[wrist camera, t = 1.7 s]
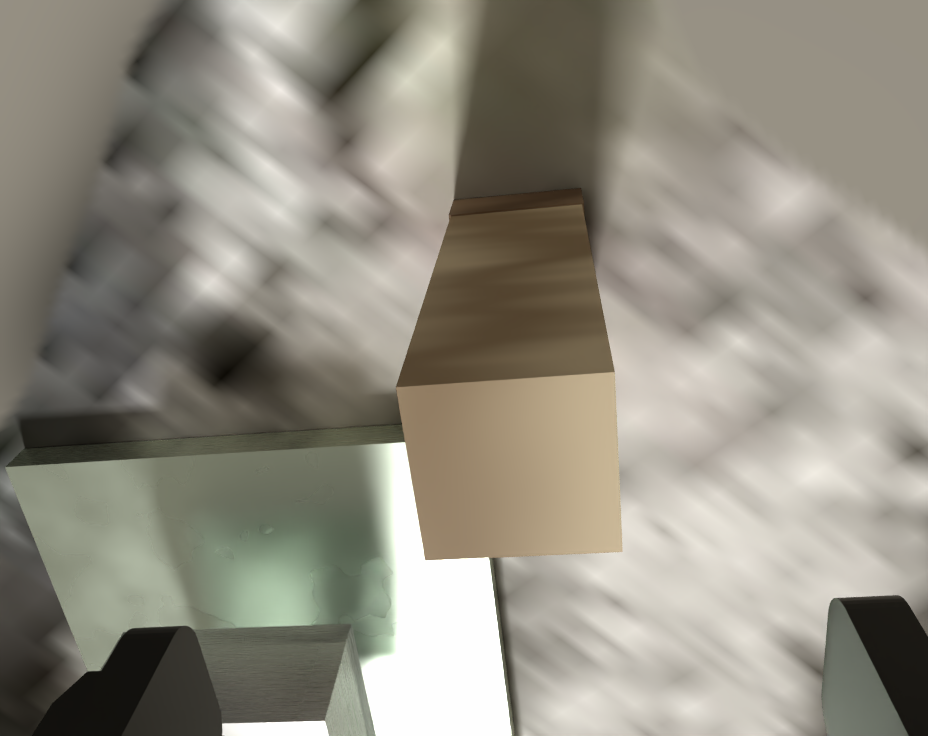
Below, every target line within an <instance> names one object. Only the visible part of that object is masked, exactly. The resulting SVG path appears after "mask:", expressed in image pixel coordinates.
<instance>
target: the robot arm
mask: <svg viewBox="0 0 928 736" xmlns="http://www.w3.org/2000/svg"><path fill="white" fill-rule="evenodd" d="M822 708H823V716H824V722H825V726H826V731H827V735H828V736H928V636H927V635H926V633H925V631H924V630H923V628H922V626H921V625H920V623H919V621H918V620H917V618H916V616H915V615H914V613H913V611H912V610H911V608H910V606H909V605H908V603H907V602H906V601H905V600H904V599H903V598H902V597H901V596H898V595H893V596H871V597H849V598H834V599H833V600H832V601H831V603H830V606H829V611H828V622H827V634H826V646H825V658H824V670H823V682H822ZM32 736H222V716H221V710H220V707H219V703H218V700H217V697H216V694H215V691H214V688H213V685H212V682H211V679H210V675H209V672H208V669H207V666H206V663H205V660H204V657H203V654H202V651H201V647H200V644H199V641H198V638H197V636H196V633H195V632H194V630H193V629H192V628H191V627H189V626H166V627H144V628H132V629H129V630H128V631H127V632H126V633H125V634H124V635H123V636H122V637H121V639H120V640H119V642H118V644H117V645H116V647H115V649H114V650H113V652H112V654H111V655H110V657H109V659H108V660H107V662H106V664H105V665H104V667H103V669H102V670H101V671H88V672H86V673H85V674H84V675H83V676H82V677H81V678H80V679H79V680H78V681H77V682H75V683H74V684H73V685H72V686H71V687H70V688H69V689H68V690H67V691H66V692H64V693H63V694H62V695H61V696H60V697H59V698H58V699H57V700H56V701H55V702H53V703H52V705H51V706H50V708H49V710H48V711H47V713H46V714H45V716H44V717H43V719H42V721H41V722H40V724H39V725H38V727H37V728H36V730H35V731H34V733H33V735H32Z"/></svg>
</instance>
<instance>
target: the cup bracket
mask: <svg viewBox="0 0 928 736" xmlns="http://www.w3.org/2000/svg"><path fill="white" fill-rule="evenodd" d="M5 468H6V471H7V473H8V476H9V478H10V480H11V483H12V485H13V488H14V490H15V493H16V495H17V498H18V500H19V503H20V505H21V508H22V510H23V513H24V515H25V518H26V520H27V522H28V525H29V527H30V530H31V532H32V535H33V537H34V540H35V542H36V545H37V547H38V550H39V552H40V555H41V557H42V560H43V562H44V564H45V567H46V569H47V572H48V574H49V577H50V579H51V582H52V584H53V587H54V589H55V592H56V594H57V597H58V599H59V602H60V604H61V606H62V609H63V611H64V614H65V616H66V619H67V621H68V624H69V626H70V629H71V631H72V634H73V636H74V639H75V641H76V644H77V646H78V649H79V651H80V653H81V656H82V658H83V661H84V663H85V666H86V668H87V671H101V670H102V669H103V667H104V665H105V664H106V662H107V660H108V659H109V657H110V655H111V654H112V652H113V650H114V649H115V647H116V645H117V644H118V642H119V640H120V639H121V637H122V636H123V635H124V634H125V633H126V632H127V631H128V630H129V629H132V628H144V627H166V626H189V627H191V628H192V629H193V630H194V632H195V633H196V636H197V638H198V641H199V644H200V647H201V651H202V654H203V657H204V660H205V663H206V666H207V669H208V672H209V675H210V679H211V682H212V685H213V688H214V691H215V694H216V697H217V700H218V703H219V707H220V710H221V716H222V736H515V732H514V724H513V716H512V708H511V700H510V691H509V683H508V675H507V667H506V659H505V651H504V643H503V635H502V627H501V619H500V611H499V603H498V595H497V587H496V579H495V571H494V563H493V558H476V559H454V560H432V561H425V559H424V553H423V547H422V541H421V535H420V529H419V523H418V517H417V511H416V505H415V499H414V493H413V487H412V481H411V475H410V469H409V463H408V457H407V451H406V445H405V439H404V433H403V427H402V424H399V425H384V426H368V427H353V428H338V429H322V430H307V431H291V432H276V433H260V434H245V435H229V436H214V437H198V438H183V439H168V440H152V441H137V442H121V443H106V444H90V445H75V446H59V447H44V448H28V449H23V450H22V451H21V452H20V453H19V454H18V455H17V456H16V457H15V458H14V459H13V460H12V461H11V462H10V463H9V464H8V465H7V466H6V467H5Z"/></svg>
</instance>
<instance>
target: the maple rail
mask: <svg viewBox="0 0 928 736" xmlns="http://www.w3.org/2000/svg"><path fill="white" fill-rule="evenodd" d="M396 391H397V397H398V403H399V409H400V415H401V421H402V427H403V433H404V439H405V445H406V451H407V457H408V463H409V469H410V475H411V481H412V487H413V493H414V499H415V505H416V511H417V517H418V523H419V529H420V535H421V541H422V547H423V553H424V559H425V561H432V560H454V559H476V558H498V557H520V556H542V555H564V554H586V553H608V552H622V529H621V506H620V483H619V460H618V437H617V414H616V391H615V371H614V366H613V361H612V356H611V351H610V346H609V340H608V335H607V330H606V325H605V320H604V315H603V310H602V305H601V299H600V294H599V289H598V284H597V279H596V274H595V269H594V264H593V258H592V253H591V248H590V243H589V238H588V233H587V228H586V223H585V217H584V201H583V196H582V192H581V188H576V189H565V190H554V191H544V192H533V193H523V194H512V195H502V196H491V197H481V198H470V199H460V200H454V201H453V204H452V207H451V210H450V213H449V224H448V227H447V230H446V233H445V236H444V239H443V242H442V245H441V249H440V252H439V255H438V258H437V261H436V264H435V267H434V270H433V273H432V277H431V280H430V283H429V286H428V289H427V292H426V295H425V298H424V302H423V305H422V308H421V311H420V314H419V317H418V320H417V323H416V326H415V330H414V333H413V336H412V339H411V342H410V345H409V348H408V351H407V354H406V358H405V361H404V364H403V367H402V370H401V373H400V376H399V379H398V382H397V386H396Z"/></svg>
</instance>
